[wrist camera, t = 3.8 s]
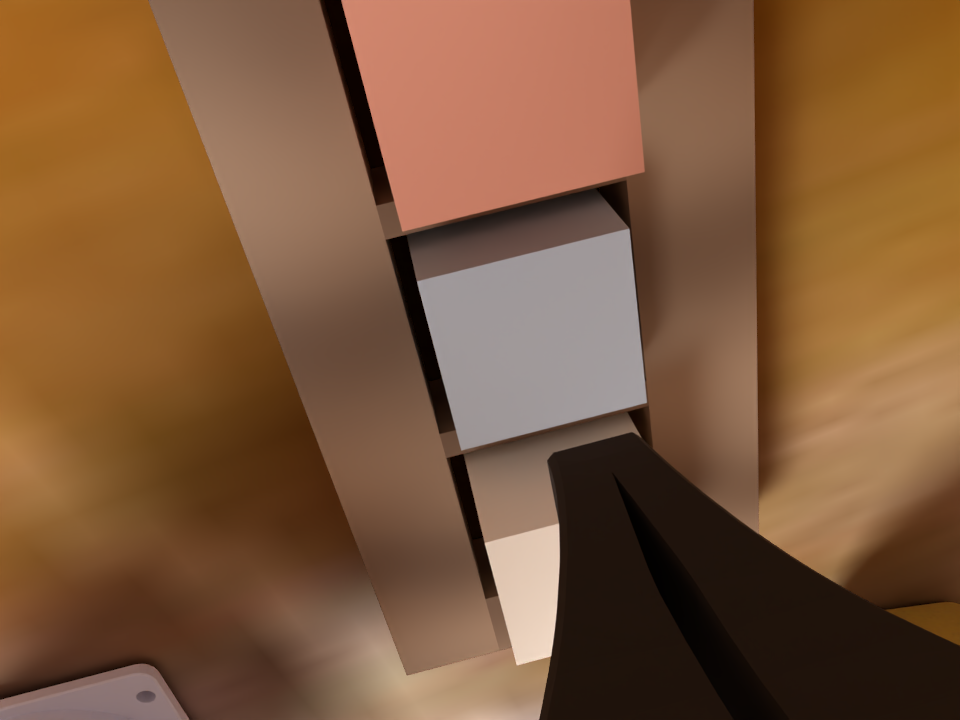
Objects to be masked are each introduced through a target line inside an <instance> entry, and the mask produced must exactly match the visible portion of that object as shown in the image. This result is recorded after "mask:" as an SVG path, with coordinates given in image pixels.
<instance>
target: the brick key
mask: <svg viewBox="0 0 960 720" xmlns="http://www.w3.org/2000/svg"><path fill="white" fill-rule="evenodd" d="M341 1H342V5H343V9H344V12H345V16H346V20H347V24H348V28H349V31H350V35H351V39H352V43H353V47H354V50H355V54H356V58H357V62H358V65H359V69H360V73H361V77H362V81H363V84H364V88H365V92H366V96H367V100H368V103H369V107H370V111H371V115H372V118H373V122H374V126H375V130H376V134H377V137H378V141H379V145H380V149H381V153H382V156H383V160H384V164H385V168H386V171H387V175H388V179H389V183H390V187H391V190H392V194H393V198H394V202H395V206H396V209H397V213H398V217H399V221H400V224H401V228H402V232H403V231H407V230H411V229H415V228H419V227H423V226H427V225H432V224H436V223H440V222H444V221H448V220H452V219H456V218H460V217H464V216H468V215H472V214H476V213H480V212H484V211H488V210H492V209H496V208H500V207H505V206H509V205H513V204H517V203H521V202H525V201H529V200H533V199H537V198H541V197H545V196H549V195H553V194H557V193H561V192H565V191H569V190H573V189H577V188H582V187H586V186H590V185H594V184H598V183H602V182H606V181H610V180H614V179H618V178H622V177H626V176H630V175H634V174H638V173H642V172H645V168H644V157H643V145H642V133H641V122H640V110H639V99H638V87H637V75H636V64H635V52H634V41H633V29H632V17H631V6H630V0H341Z"/></svg>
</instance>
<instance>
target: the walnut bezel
mask: <svg viewBox="0 0 960 720" xmlns="http://www.w3.org/2000/svg"><path fill="white" fill-rule="evenodd" d="M148 1H149V3H150V6H151V9H152V11H153V14H154V16H155V19H156V22H157V24H158V27H159V29H160V32H161V35H162V37H163V40H164V43H165V45H166V48H167V50H168V53H169V56H170V58H171V61H172V63H173V66H174V69H175V71H176V74H177V76H178V79H179V82H180V84H181V87H182V90H183V92H184V95H185V97H186V100H187V103H188V105H189V108H190V110H191V113H192V116H193V118H194V121H195V123H196V126H197V129H198V131H199V134H200V137H201V139H202V142H203V144H204V147H205V150H206V152H207V155H208V157H209V160H210V163H211V165H212V168H213V170H214V173H215V176H216V178H217V181H218V184H219V186H220V189H221V191H222V194H223V197H224V199H225V202H226V204H227V207H228V210H229V212H230V215H231V217H232V220H233V223H234V225H235V228H236V231H237V233H238V236H239V238H240V241H241V244H242V246H243V249H244V251H245V254H246V257H247V259H248V262H249V264H250V267H251V270H252V272H253V275H254V278H255V280H256V283H257V285H258V288H259V291H260V293H261V296H262V298H263V301H264V304H265V306H266V309H267V311H268V314H269V317H270V319H271V322H272V325H273V327H274V330H275V332H276V335H277V338H278V340H279V343H280V345H281V348H282V351H283V353H284V356H285V358H286V361H287V364H288V366H289V369H290V372H291V374H292V377H293V379H294V382H295V385H296V387H297V390H298V392H299V395H300V398H301V400H302V403H303V405H304V408H305V411H306V413H307V416H308V419H309V421H310V424H311V426H312V429H313V432H314V434H315V437H316V439H317V442H318V445H319V447H320V450H321V452H322V455H323V458H324V460H325V463H326V466H327V468H328V471H329V473H330V476H331V479H332V481H333V484H334V486H335V489H336V492H337V494H338V497H339V500H340V502H341V505H342V507H343V510H344V513H345V515H346V518H347V520H348V523H349V526H350V528H351V531H352V533H353V536H354V539H355V541H356V544H357V547H358V549H359V552H360V554H361V557H362V560H363V562H364V565H365V567H366V570H367V573H368V575H369V578H370V580H371V583H372V586H373V588H374V591H375V594H376V596H377V599H378V601H379V604H380V607H381V609H382V612H383V614H384V617H385V620H386V622H387V625H388V627H389V630H390V633H391V635H392V638H393V641H394V643H395V646H396V648H397V651H398V654H399V656H400V659H401V661H402V664H403V667H404V669H405V672H406V674H407V675H411V674H415V673H418V672H422V671H426V670H430V669H433V668H437V667H441V666H445V665H448V664H452V663H456V662H460V661H463V660H467V659H471V658H475V657H478V656H482V655H486V654H490V653H493V652H497V651H501V650H505V649H508V648H512V645H511V641H510V637H509V633H508V630H507V626H506V622H505V618H504V614H503V611H502V607H501V603H500V599H499V596H498V592H497V588H496V584H495V580H494V577H493V573H492V569H491V565H490V561H489V558H488V554H487V550H486V546H485V542H484V538H483V537H482V538H478V539H475V540H472V537H471V533H470V530H469V526H468V522H467V519H466V515H465V511H464V508H463V504H462V500H461V497H460V493H459V490H458V486H457V482H456V479H455V475H454V471H453V468H452V464H451V460H450V457H453V456H456V455H460V454H464V453H468V452H472V451H476V450H480V449H484V448H487V447H491V446H495V445H499V444H503V443H507V442H511V441H515V440H519V439H522V438H526V437H530V436H534V435H538V434H542V433H546V432H550V431H554V430H557V429H561V428H565V427H569V426H573V425H577V424H581V423H585V422H588V421H592V420H596V419H600V418H604V417H608V416H612V415H616V414H620V413H623V412H627V413H628V414H629V416H630V418H631V420H632V422H633V423H634V425H635V427H636V429H637V431H638V432H639V434H640V436H641V438H642V439H643V440H644V441H645V442H646V443H647V444H648V445H649V446H651V447H652V448H653V449H654V450H655V451H656V452H657V453H658V454H659V455H660V456H661V457H663V458H664V459H665V460H666V461H667V462H668V463H669V464H670V465H672V466H673V467H674V468H675V469H676V470H677V471H679V472H680V473H681V474H682V475H683V476H684V477H686V478H687V479H688V480H689V481H690V482H691V483H693V484H694V485H695V486H696V487H698V488H699V489H700V490H701V491H702V492H704V493H705V494H706V495H707V496H709V497H710V498H711V499H713V500H714V501H715V502H717V503H718V504H719V505H720V506H722V507H723V508H724V509H726V510H727V511H728V512H729V513H731V514H732V515H733V516H735V517H736V518H737V519H739V520H740V521H741V522H743V523H744V524H745V525H747V526H748V527H750V528H751V529H752V530H754V531H755V532H757V533H758V534H759V487H758V389H757V291H756V193H755V95H754V0H630V6H631V17H632V29H633V41H634V52H635V64H636V75H637V87H638V99H639V110H640V122H641V133H642V145H643V157H644V168H645V172H642V173H638V174H634V175H630V176H626V177H622V178H618V179H614V180H610V181H606V182H602V183H598V184H594V185H590V186H586V187H582V188H577V189H573V190H569V191H565V192H561V193H557V194H553V195H549V196H545V197H541V198H537V199H533V200H529V201H525V202H521V203H517V204H513V205H509V206H505V207H500V208H496V209H492V210H488V211H484V212H480V213H476V214H472V215H468V216H464V217H460V218H456V219H452V220H448V221H444V222H440V223H436V224H432V225H427V226H423V227H419V228H415V229H411V230H407V231H403V232H402V228H401V224H400V221H399V217H398V213H397V209H396V206H395V202H394V198H393V194H392V190H391V187H390V183H389V179H388V175H387V171H386V168H385V166H382V167H377V168H373V169H370V166H369V162H368V158H367V155H366V151H365V147H364V144H363V140H362V136H361V133H360V129H359V126H358V122H357V118H356V115H355V111H354V107H353V104H352V100H351V96H350V93H349V89H348V85H347V82H346V78H345V75H344V71H343V67H342V64H341V60H340V56H339V53H338V49H337V45H336V42H335V38H334V34H333V31H332V27H331V24H330V20H329V16H328V13H327V9H326V5H325V2H324V0H148ZM597 187H600V194H601V195H602V197H603V198H604V199H605V200H606V201H607V203H608V204H609V205H610V206H611V207H612V209H613V210H614V211H615V212H616V213H617V214H618V216H619V217H620V218H621V219H622V220H623V222H624V223H625V224H626V225H627V226H628V227H629V230H630V240H631V250H632V260H633V270H634V279H635V289H636V299H637V309H638V319H639V329H640V339H641V349H642V359H643V369H644V379H645V389H646V398H647V403H644V404H640V405H636V406H633V407H629V408H625V409H621V410H617V411H613V412H609V413H605V414H601V415H598V416H594V417H590V418H586V419H582V420H578V421H574V422H570V423H566V424H563V425H559V426H555V427H551V428H547V429H543V430H539V431H535V432H532V433H528V434H524V435H520V436H516V437H512V438H508V439H504V440H500V441H497V442H493V443H489V444H485V445H481V446H477V447H473V448H469V449H465V450H462V451H461V447H460V444H459V440H458V436H457V432H456V428H455V425H454V421H453V417H452V413H451V409H450V406H449V402H448V398H447V394H446V390H445V386H444V383H443V379H438V380H434V381H430V382H429V380H428V377H427V373H426V369H425V366H424V362H423V358H422V355H421V351H420V348H419V344H418V340H417V337H416V333H415V329H414V326H413V322H412V318H411V315H410V311H409V308H408V304H407V300H406V297H405V293H404V289H403V286H402V282H401V278H400V275H399V271H398V267H397V264H396V260H395V257H394V253H393V249H392V246H391V242H390V238H394V237H398V236H403V235H407V234H411V233H415V232H419V231H423V230H427V229H431V228H435V227H439V226H443V225H447V224H451V223H455V222H459V221H463V220H467V219H471V218H475V217H479V216H484V215H488V214H492V213H496V212H500V211H504V210H508V209H512V208H516V207H520V206H524V205H528V204H532V203H536V202H540V201H544V200H548V199H552V198H556V197H560V196H565V195H569V194H573V193H577V192H581V191H585V190H589V189H593V188H597Z"/></svg>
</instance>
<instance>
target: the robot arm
mask: <svg viewBox="0 0 960 720" xmlns="http://www.w3.org/2000/svg"><path fill="white" fill-rule="evenodd" d="M547 464H548V469H549V474H550V480H551V485H552V490H553V495H554V500H555V506H556V511H557V516H558V521H559V542H560V567H559V583H558V600H557V613H556V622H555V631H554V639H553V646H552V653H551V660H550V667H549V673H548V678H547V683H546V688H545V694H544V699H543V704H542V709H541V714H540V719H539V720H960V645H958V644H955V643H953V642H951V641H949V640H946V639H944V638H942V637H940V636H938V635H936V634H934V633H932V632H930V631H928V630H925V629H923V628H921V627H919V626H917V625H915V624H913V623H911V622H909V621H907V620H904V619H902V618H900V617H898V616H896V615H894V614H892V613H890V612H888V611H886V610H883V609H882V608H880V607H878V606H876V605H874V604H872V603H870V602H869V601H867V600H865V599H863V598H861V597H859V596H857V595H856V594H854V593H852V592H850V591H848V590H847V589H845V588H843V587H841V586H840V585H838V584H836V583H835V582H833V581H831V580H829V579H828V578H826V577H824V576H823V575H821V574H819V573H817V572H816V571H814V570H813V569H811V568H809V567H808V566H806V565H804V564H803V563H801V562H800V561H798V560H797V559H795V558H794V557H792V556H790V555H789V554H787V553H786V552H784V551H783V550H781V549H780V548H778V547H777V546H776V545H774V544H773V543H771V542H770V541H768V540H767V539H765V538H764V537H762V536H761V535H759V534H758V533H757V532H755V531H754V530H752V529H751V528H750V527H748V526H747V525H745V524H744V523H743V522H741V521H740V520H739V519H737V518H736V517H735V516H733V515H732V514H731V513H729V512H728V511H727V510H726V509H724V508H723V507H722V506H720V505H719V504H718V503H717V502H715V501H714V500H713V499H711V498H710V497H709V496H707V495H706V494H705V493H704V492H702V491H701V490H700V489H699V488H698V487H696V486H695V485H694V484H693V483H691V482H690V481H689V480H688V479H687V478H686V477H684V476H683V475H682V474H681V473H680V472H679V471H677V470H676V469H675V468H674V467H673V466H672V465H670V464H669V463H668V462H667V461H666V460H665V459H664V458H663V457H661V456H660V455H659V454H658V453H657V452H656V451H655V450H654V449H653V448H652V447H651V446H649V445H648V444H647V443H646V442H645V441H644V440H643V439H642V438H641V437H640V436H638V435H637V434H635V433H633V432H630V433H626V434H622V435H619V436H615V437H611V438H607V439H603V440H600V441H596V442H592V443H588V444H584V445H581V446H577V447H573V448H569V449H565V450H561V451H558V452H554V453H553V454H552V455H551V456H550V457H549V459H548V460H547ZM0 720H189V718H188V717H187V715H186V713H185V712H184V710H183V709H182V707H181V706H180V704H179V703H178V701H177V699H176V698H175V696H174V695H173V693H172V692H171V690H170V689H169V687H168V685H167V684H166V682H165V681H164V679H163V678H162V676H161V674H160V673H159V671H158V670H157V669H156V668H155V667H153V666H150V665H148V664H135V665H131V666H127V667H123V668H119V669H116V670H112V671H108V672H104V673H100V674H97V675H93V676H89V677H85V678H81V679H78V680H74V681H70V682H66V683H62V684H59V685H55V686H51V687H47V688H43V689H40V690H36V691H32V692H28V693H24V694H21V695H17V696H13V697H9V698H5V699H2V700H0Z"/></svg>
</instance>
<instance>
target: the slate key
mask: <svg viewBox="0 0 960 720" xmlns="http://www.w3.org/2000/svg"><path fill="white" fill-rule="evenodd" d="M407 239H408V244H409V248H410V253H411V257H412V262H413V266H414V271H415V275H416V280H417V284H418V288H419V291H420V295H421V299H422V303H423V307H424V310H425V314H426V318H427V322H428V326H429V329H430V333H431V337H432V341H433V345H434V348H435V352H436V356H437V360H438V364H439V367H440V371H441V375H442V379H443V383H444V386H445V390H446V394H447V398H448V402H449V406H450V409H451V413H452V417H453V421H454V425H455V428H456V432H457V436H458V440H459V444H460V447H461V451H462V450H465V449H469V448H473V447H477V446H481V445H485V444H489V443H493V442H497V441H500V440H504V439H508V438H512V437H516V436H520V435H524V434H528V433H532V432H535V431H539V430H543V429H547V428H551V427H555V426H559V425H563V424H566V423H570V422H574V421H578V420H582V419H586V418H590V417H594V416H598V415H601V414H605V413H609V412H613V411H617V410H621V409H625V408H629V407H633V406H636V405H640V404H644V403H647V398H646V389H645V379H644V369H643V359H642V349H641V339H640V329H639V319H638V309H637V299H636V289H635V279H634V270H633V260H632V250H631V240H630V230H629V227H628V226H627V225H626V224H625V223H624V222H623V220H622V219H621V218H620V217H619V216H618V214H617V213H616V212H615V211H614V210H613V209H612V207H611V206H610V205H609V204H608V203H607V201H606V200H605V199H604V198H603V197H602V195H601V194H600V193H599V192H598V191H597V190H596V188H593V189H589V190H585V191H581V192H577V193H573V194H569V195H565V196H560V197H556V198H552V199H548V200H544V201H540V202H536V203H532V204H528V205H524V206H520V207H516V208H512V209H508V210H504V211H500V212H496V213H492V214H488V215H484V216H479V217H475V218H471V219H467V220H463V221H459V222H455V223H451V224H447V225H443V226H439V227H435V228H431V229H427V230H423V231H419V232H415V233H411V234H407Z"/></svg>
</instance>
